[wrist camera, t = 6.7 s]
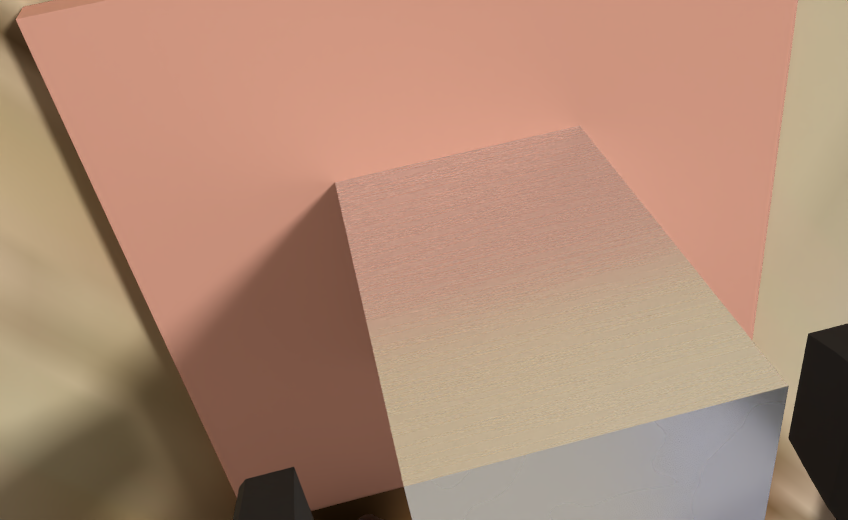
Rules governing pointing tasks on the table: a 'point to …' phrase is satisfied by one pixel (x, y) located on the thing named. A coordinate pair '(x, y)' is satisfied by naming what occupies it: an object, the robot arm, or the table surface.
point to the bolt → (369, 517)
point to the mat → (378, 151)
